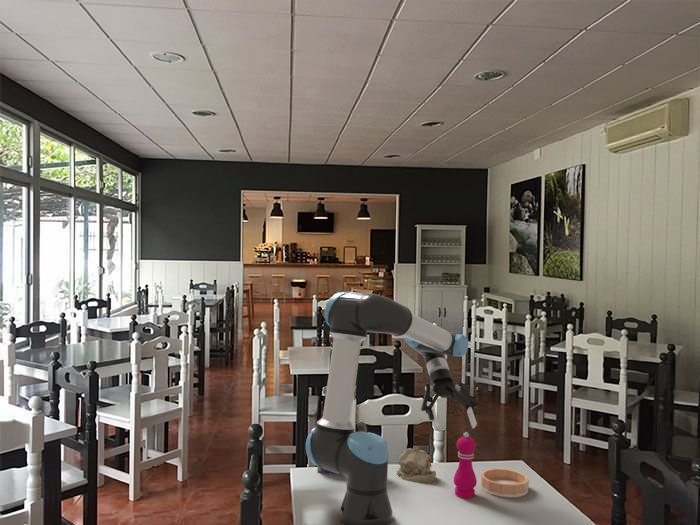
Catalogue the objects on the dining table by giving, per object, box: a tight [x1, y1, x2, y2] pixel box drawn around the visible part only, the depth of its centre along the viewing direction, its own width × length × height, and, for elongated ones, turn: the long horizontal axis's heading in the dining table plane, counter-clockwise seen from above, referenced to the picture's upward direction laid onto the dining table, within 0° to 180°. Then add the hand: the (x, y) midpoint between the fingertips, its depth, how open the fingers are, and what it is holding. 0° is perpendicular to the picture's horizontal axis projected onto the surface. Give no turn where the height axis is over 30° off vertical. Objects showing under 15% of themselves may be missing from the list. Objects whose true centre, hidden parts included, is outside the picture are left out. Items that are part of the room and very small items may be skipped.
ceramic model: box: [396, 446, 437, 483], centre depth 208 cm, size 14×11×10 cm
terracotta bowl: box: [479, 467, 530, 499], centre depth 198 cm, size 15×15×4 cm
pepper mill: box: [453, 431, 478, 499], centre depth 192 cm, size 7×7×20 cm
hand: (456, 427), depth 201 cm, fingers open, 13 cm apart
